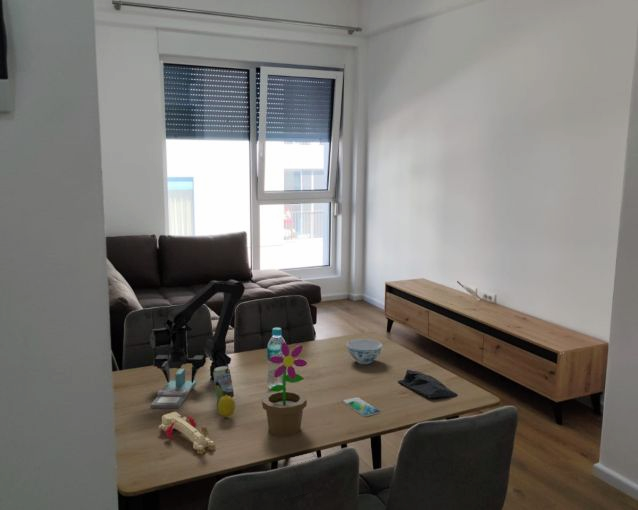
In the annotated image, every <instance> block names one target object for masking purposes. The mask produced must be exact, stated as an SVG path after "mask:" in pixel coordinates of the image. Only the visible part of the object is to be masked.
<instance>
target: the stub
mask: <svg viewBox="0 0 638 510" xmlns="http://www.w3.org/2000/svg"><path fill="white" fill-rule="evenodd" d="M174 375H175V376H174V377H175V380H170V382H169V383H168V382H167V384H166V386H165V387H176V388H191V391H192V389H193V388H194V387H195V385H196V384H197V381H196V380H194V382H193V383H192V380H186V369H185V368H179V369H177V371H176V372H175V374H174Z"/></svg>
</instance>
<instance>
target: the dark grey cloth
mask: <svg viewBox="0 0 638 510" xmlns="http://www.w3.org/2000/svg"><path fill="white" fill-rule="evenodd" d="M397 383H398V384H400V383H401V385H403V386H404V387H405V388H408V389H409V390H413V391H414V392H416V393H417V394H419V395H422V396H423V397H426V398H428V399H434V398H437V399H438V398H454V397H456V396H458V394H457V392H454V391H453V390H451V389H450V388H448V387H447V386H446V385H445V384H443V383H442V382H441V381H440V380H438V379H437V378H436V377H434V376H432V375H429V374H426V373H423V372H420V371H418V370H417V371H416V370H411V369H407V370H406V372H405V376H404V378H403V379H400V380H397Z"/></svg>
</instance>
